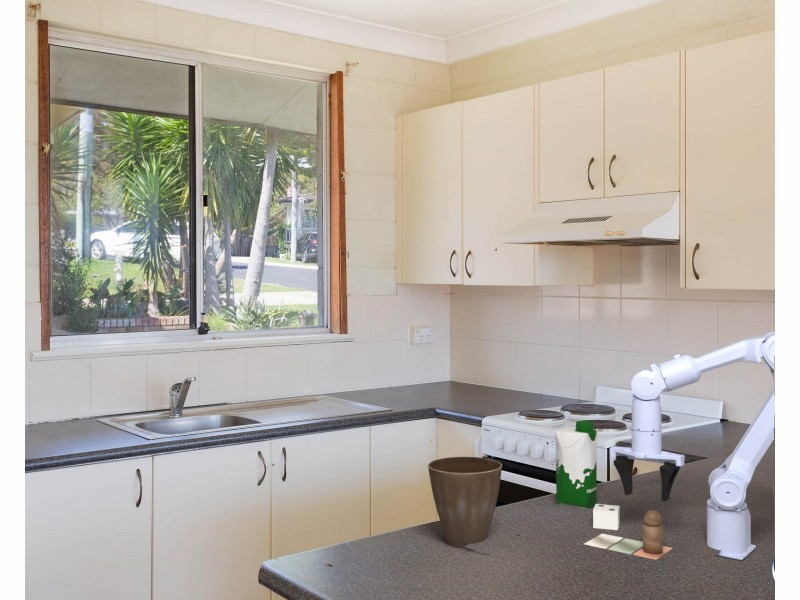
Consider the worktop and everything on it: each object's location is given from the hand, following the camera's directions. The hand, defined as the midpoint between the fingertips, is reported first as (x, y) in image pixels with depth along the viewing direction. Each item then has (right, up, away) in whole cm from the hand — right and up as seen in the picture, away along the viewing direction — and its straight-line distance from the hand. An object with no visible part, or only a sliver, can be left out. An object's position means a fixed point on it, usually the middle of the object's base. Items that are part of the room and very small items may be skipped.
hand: (646, 497), depth 159 cm
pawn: (-1, -8, -8) cm, 11 cm away
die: (-6, -10, +9) cm, 14 cm away
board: (-5, -10, -5) cm, 12 cm away
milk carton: (-8, -9, +28) cm, 31 cm away
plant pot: (-36, -10, +1) cm, 38 cm away
